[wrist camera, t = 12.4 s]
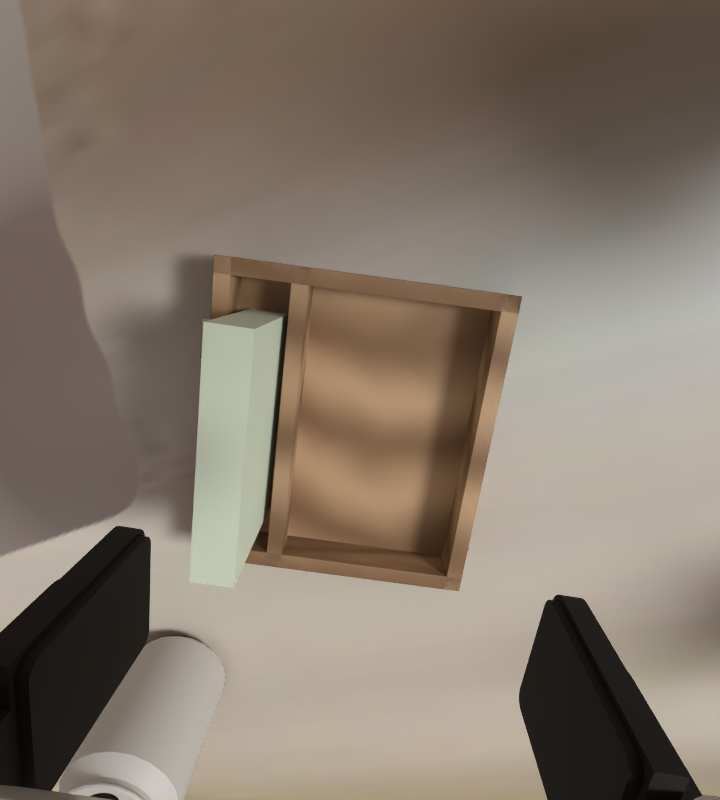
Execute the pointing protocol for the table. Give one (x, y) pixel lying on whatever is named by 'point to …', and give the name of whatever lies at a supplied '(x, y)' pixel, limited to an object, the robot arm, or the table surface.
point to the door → (235, 439)
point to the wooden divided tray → (375, 418)
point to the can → (151, 726)
